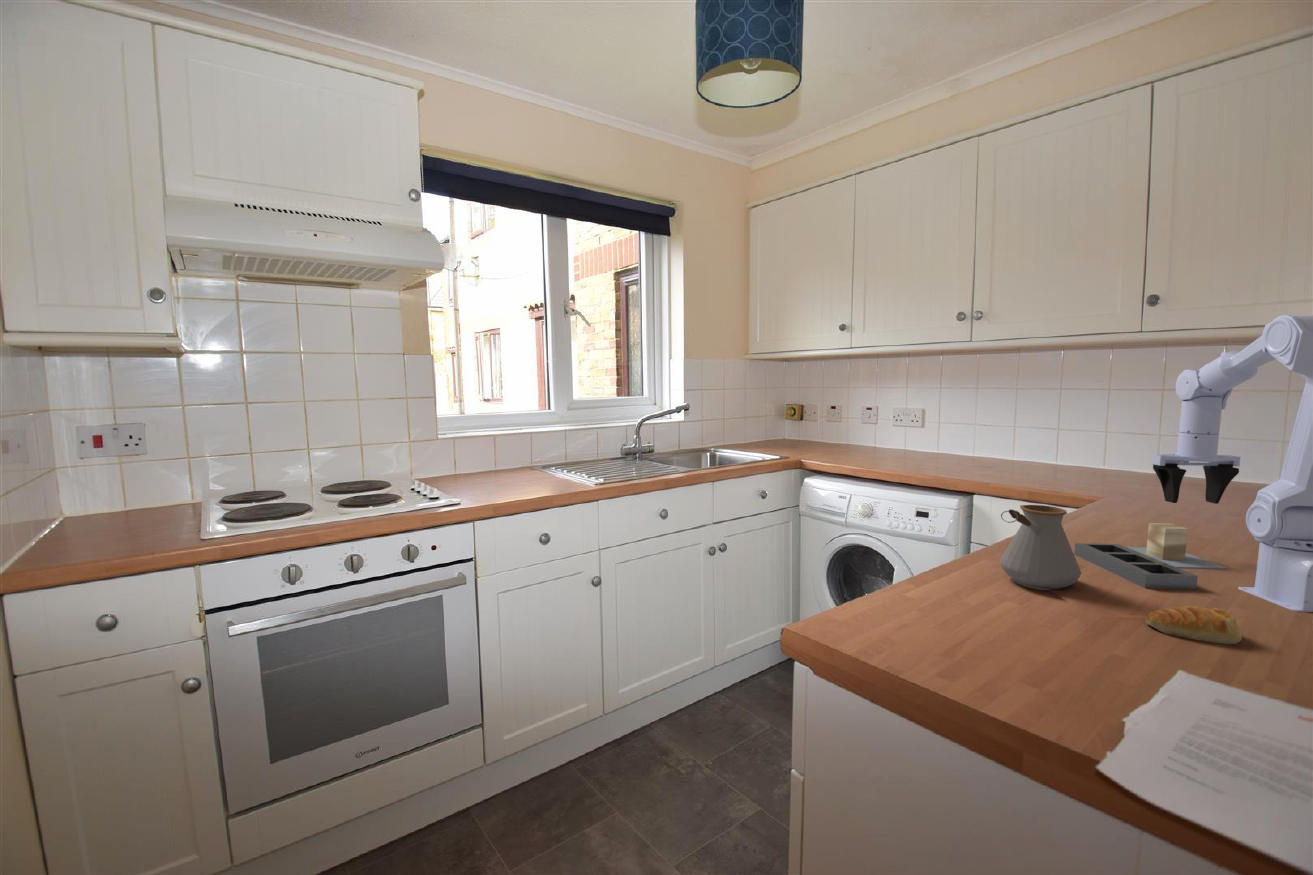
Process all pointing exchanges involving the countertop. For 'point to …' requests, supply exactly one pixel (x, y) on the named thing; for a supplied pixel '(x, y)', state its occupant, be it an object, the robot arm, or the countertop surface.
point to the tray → (1136, 566)
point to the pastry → (1197, 624)
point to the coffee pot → (1040, 550)
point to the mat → (1183, 561)
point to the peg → (1167, 541)
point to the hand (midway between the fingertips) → (1191, 502)
